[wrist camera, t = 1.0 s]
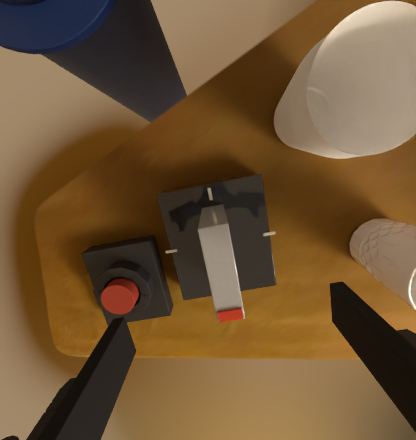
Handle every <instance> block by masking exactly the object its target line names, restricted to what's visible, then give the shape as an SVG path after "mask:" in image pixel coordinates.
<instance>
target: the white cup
mask: <svg viewBox="0 0 416 440" xmlns="http://www.w3.org/2000/svg"><path fill="white" fill-rule="evenodd" d="M349 246H350V254H351V255H352V257H353V258H354V259H355V261H356V262H357V263H358V264H360V265H361V266H362V267H364V268H365V269H366V270H367V271H368V272H369V273H370V274H371V275H372V276H374V277H375V278H376V279H377V280H378V281H380V282H381V283H382V284H383V285H384V286H386V287H387V288H388V289H389V290H391V291H392V292H393V293H394V294H396V295H397V296H398V297H399V298H401V299H402V300H403V301H404V302H406V303H407V304H408V305H409V306H411V307H412V308H413V309H414V310H416V226H415V225H411V224H407V223H400V222H396V221H393V220H389V219H386V218H384V219H372V220H370V221H368V222H365V223H363V224H361V225H360V226H359V227H358V229H357V230H356V231H355V232H354V233H353V235H352V237H351V240H350V243H349Z"/></svg>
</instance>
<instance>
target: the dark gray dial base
mask: <svg viewBox="0 0 416 440" xmlns="http://www.w3.org/2000/svg"><path fill="white" fill-rule="evenodd" d="M157 199H158V202H159V206H160V210H161V214H162V218H163V222H164V226H165V230H166V233H167V237H168V241H169V245H170V249H171V250H166V254H167V253H172V257H173V261H174V264H175V268H176V272H177V276H178V280H179V284H180V288H181V292H182V296H183V299H184V300H188V299H194V298H200V297H207V296H212V293H211V289H210V284H209V279H208V275H207V270H206V266H205V261H204V257H203V252H202V247H201V243H200V238H199V234H198V225H199V220H200V215H201V211H202V208H206V207H211V206H216V205H221V204H223V205H224V209H225V213H226V217H227V221H228V225H229V230H230V236H231V241H232V247H233V253H234V258H235V264H236V269H237V275H238V280H239V286H240V291H243V290H249V289H256V288H262V287H268V286H274V285H276V278H275V270H274V263H273V255H272V248H271V240H270V235H274V234H275V231H272V232H269V225H268V218H267V210H266V203H265V195H264V188H263V180H262V174H260V173H251V174H246V175H241V176H236V177H231V178H226V179H221V180H216V181H211V182H206V183H201V184H196V185H191V186H186V187H180V188H175V189H170V190H165V191H162V192H160V193H159V194H157Z"/></svg>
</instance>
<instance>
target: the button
mask: <svg viewBox="0 0 416 440" xmlns="http://www.w3.org/2000/svg"><path fill="white" fill-rule="evenodd" d="M138 297H139V290H138V287H137V285H136V284H135V283H134V282H133V281H131V280H129V279H127V278H116V279H114V280H112V281H111V282H110V283H109V284H108V286H107V287H106V288H105V289H104V290H103V292H102V294H101V302H102V304H103V306H104V307H105V309H107V310H108V311H109V312H111V313H114V314H125V313H128V312H129V311H131V310H132V308H133V307H134V305H135V303H136V301H137V299H138Z"/></svg>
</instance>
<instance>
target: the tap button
mask: <svg viewBox="0 0 416 440" xmlns="http://www.w3.org/2000/svg"><path fill="white" fill-rule="evenodd" d="M81 254H82V257H83V259H84V262H85V265H86V267H87V270H88V273H89V276H90V278H91V281H92V284H93V286H94V294H95V297H96V300H97V302H98V304H99V305H100V306H101V308H102V311H103V313H104V316H105V319H106V322H107V324H108V325H110V323H111V322H112V320H113V319H114V318H121V317H125V319H126V322H132V321H138V320H144V319H151V318H157V317H163V316H170V315H171V311H172V308H173V303H172V300H171V296H170V292H169V289H168V285H167V281H166V278H165V274H164V270H163V267H162V263H161V259H160V256H159V252H158V248H157V245H156V241H155V237H154V235H153V236H147V237H142V238H137V239H131V240H126V241H120V242H115V243H109V244H104V245H99V246H93V247H90V248H88V249H87V250H86V251H84V252H83V253H81ZM116 278H127V279H129V280H131V281H133V282H134V283H135V284H136V285H137V287H138V290H139V297H138V299H137V301H136V303H135V305H134V307H133V308H132V310H131V311H129V312H128V313H125V314H114V313H111V312H109V311H108V310H107V309H105V307H104V306H103V304H102V302H101V294H102V292H103V290H104V289H105V288H106V287H107V286H108V284H109V283H110V282H111V281H112V280H114V279H116Z"/></svg>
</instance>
